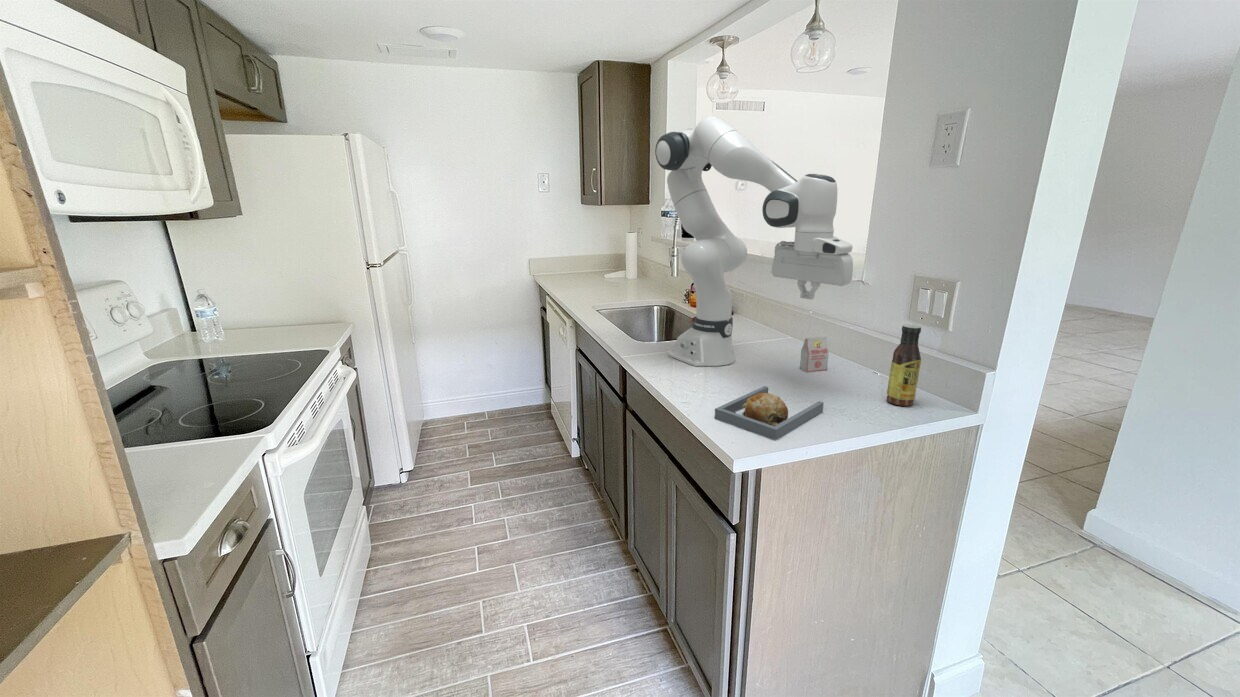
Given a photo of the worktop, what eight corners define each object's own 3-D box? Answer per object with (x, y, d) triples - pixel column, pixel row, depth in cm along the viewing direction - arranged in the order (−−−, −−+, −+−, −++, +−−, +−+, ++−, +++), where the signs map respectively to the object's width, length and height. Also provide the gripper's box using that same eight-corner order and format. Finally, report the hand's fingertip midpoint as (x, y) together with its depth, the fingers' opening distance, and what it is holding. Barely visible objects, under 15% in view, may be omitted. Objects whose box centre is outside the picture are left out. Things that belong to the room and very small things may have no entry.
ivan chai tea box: (799, 368, 155) (802, 337, 153) (820, 366, 156) (823, 335, 154) (806, 372, 152) (808, 340, 149) (826, 370, 153) (829, 338, 150)
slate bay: (714, 418, 122) (715, 408, 122) (764, 394, 136) (764, 385, 135) (775, 440, 111) (776, 429, 110) (822, 412, 124) (823, 402, 123)
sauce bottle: (902, 409, 124) (913, 330, 119) (880, 400, 130) (889, 325, 124) (920, 404, 127) (932, 327, 121) (897, 395, 132) (908, 321, 127)
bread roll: (757, 441, 118) (770, 418, 113) (731, 410, 125) (742, 387, 120) (788, 431, 123) (801, 408, 118) (761, 402, 129) (772, 379, 124)
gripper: (769, 241, 131) (764, 294, 135) (846, 247, 116) (839, 307, 120) (782, 239, 135) (777, 290, 139) (859, 245, 120) (851, 303, 124)
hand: (807, 298), depth 130 cm, fingers closed
